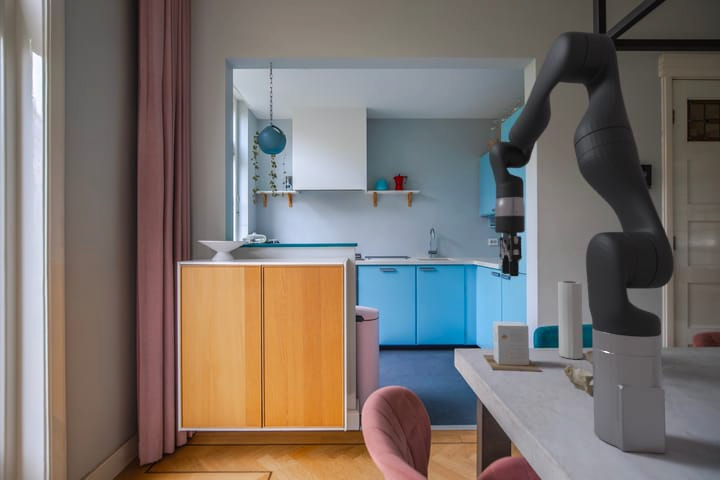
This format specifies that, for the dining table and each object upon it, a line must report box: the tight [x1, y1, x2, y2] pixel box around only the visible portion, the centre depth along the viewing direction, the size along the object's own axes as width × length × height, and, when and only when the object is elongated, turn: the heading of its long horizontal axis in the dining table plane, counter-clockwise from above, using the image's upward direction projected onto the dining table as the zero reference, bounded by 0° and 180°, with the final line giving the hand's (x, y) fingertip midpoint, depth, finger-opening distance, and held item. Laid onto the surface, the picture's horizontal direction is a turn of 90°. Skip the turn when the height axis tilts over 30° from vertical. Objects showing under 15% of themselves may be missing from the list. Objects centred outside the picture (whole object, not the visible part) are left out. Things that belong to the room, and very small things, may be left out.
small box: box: [492, 321, 530, 365], centre depth 106 cm, size 8×6×10 cm
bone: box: [564, 349, 593, 396], centre depth 85 cm, size 9×6×10 cm
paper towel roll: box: [557, 280, 584, 360], centre depth 112 cm, size 7×6×21 cm
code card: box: [482, 354, 543, 373], centre depth 106 cm, size 14×12×1 cm
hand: (509, 275), depth 106 cm, fingers open, 8 cm apart
